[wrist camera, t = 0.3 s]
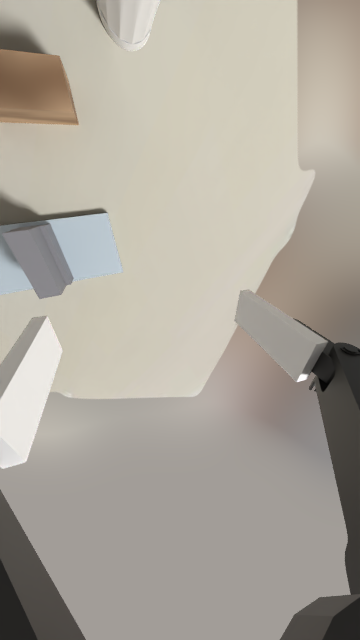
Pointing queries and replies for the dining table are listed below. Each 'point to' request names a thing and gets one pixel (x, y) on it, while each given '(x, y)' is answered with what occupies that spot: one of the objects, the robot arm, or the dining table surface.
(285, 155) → the dining table surface
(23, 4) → the dining table surface
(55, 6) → the dining table surface
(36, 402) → the robot arm
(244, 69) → the dining table surface
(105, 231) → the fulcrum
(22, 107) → the bar
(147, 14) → the cup
